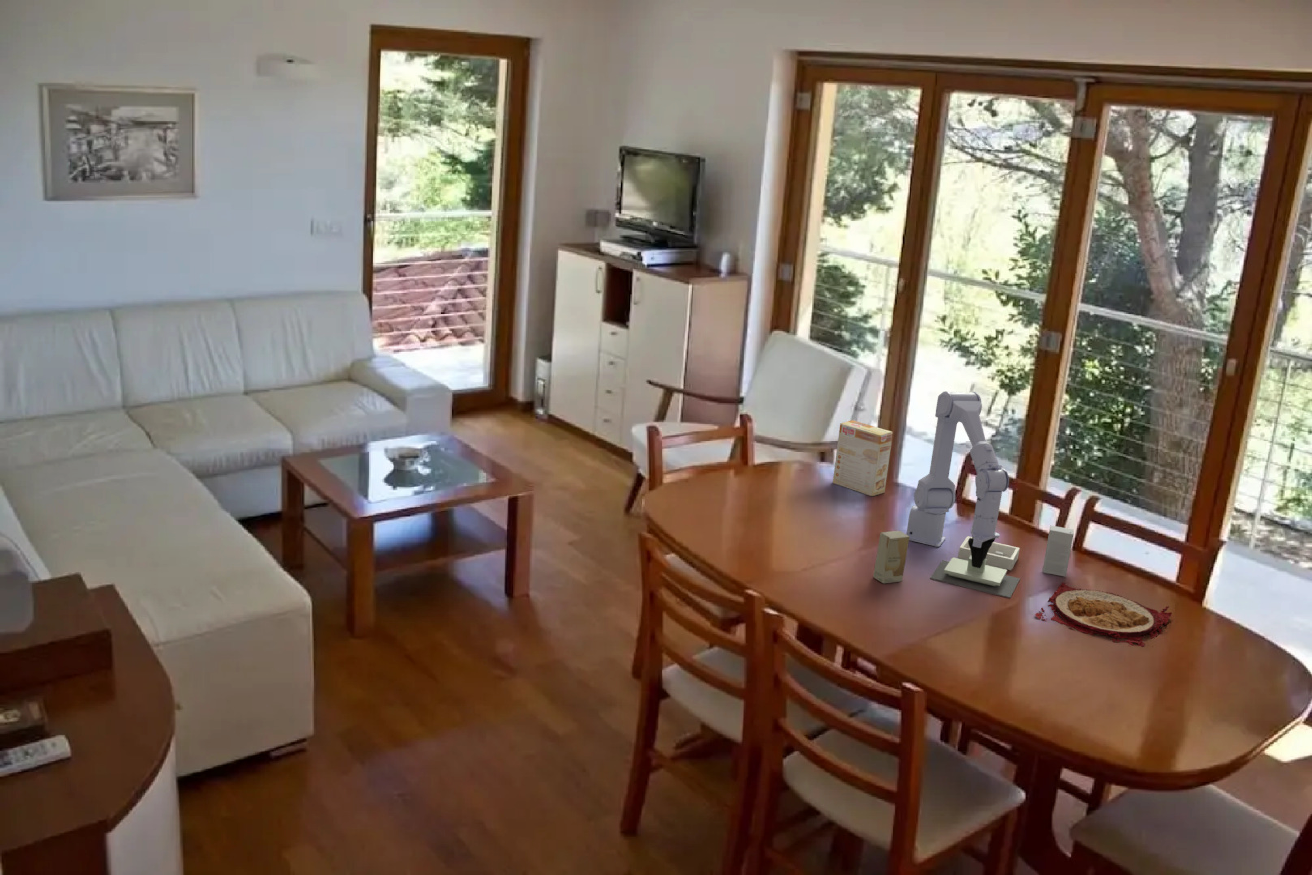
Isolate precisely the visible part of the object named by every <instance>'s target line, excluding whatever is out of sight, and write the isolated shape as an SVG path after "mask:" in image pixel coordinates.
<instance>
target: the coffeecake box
mask: <svg viewBox="0 0 1312 875" xmlns="http://www.w3.org/2000/svg"><path fill="white" fill-rule="evenodd" d="M838 431H839V432H838V437H837V446H836V453H835V454H836V455H835V462H834V470H833V475H832V476H833V477H832V484H835V485H837V486H840V487H843V488H847V489H848V490H849V489H850V490H852V491H856V492H858V493H860V494H864V495H866V496H870V497H875V496H877V495H882V494H884V493H885V491H886V485H887V478H888V471H889V470H888V469H889V462H890V456H891V449H892V442H893V433H894V431H891V430H887V429H884V428H880V427H877V426H874V425H870V424H866V423H864V422H860V421H856V420H854V419H851V420H848V421H845V422H844V421H843V422H840V423H839V430H838Z"/></svg>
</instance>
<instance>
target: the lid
mask: <svg viewBox="0 0 1312 875" xmlns="http://www.w3.org/2000/svg"><path fill="white" fill-rule="evenodd" d="M986 560H987V559H984V561H983V564H982V566H981V568H977V567H973V566H972V558H971V556H970V558H969V560H965V559H961V558H958V557H952V558H950V561H948V562H949V563H948V565H947V566H946V568H945V569H944V573H947V574H949V575H950V576H954V577H958V578H963V579H967V580H971V581H975V582H979V583H983V584H988V585H992V586H996V585H998V586H1000V584H1001V582H1002V581H1003V579H1004V577H1005V575H1007V574H1008V573H1007V572H1008V570H1007V569H1003V568H999V567H995V566H990V565H986Z"/></svg>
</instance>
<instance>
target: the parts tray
mask: <svg viewBox="0 0 1312 875" xmlns="http://www.w3.org/2000/svg"><path fill="white" fill-rule="evenodd" d="M970 538H971V539H973V538H972V536H969V535H968V536H966V537H965V539H964V540H963V542H962V543H961V545H960V546H959V550H958V555H957V558H958V559H963V560H967V561H968V560H969V558H970V556H971V550H970V546H969V544H968V540H969V539H970ZM1020 550H1021V548H1020V547H1018V546H1017V547H1016V546H1013V545H1009V544H1006V543H1005V544H1003V543H1000V542H996V541H994V542H993V543H992V545H991V547H990V548H989V550H988V553H987V555H986V558H985V559H987V560H986V565H988V566H993V567H997V568H1001V569H1005V570H1007V571H1008V570H1009V571H1012V570H1013V568H1014V567H1015V565H1016V563H1017V561H1018V558H1019V555H1020Z"/></svg>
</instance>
